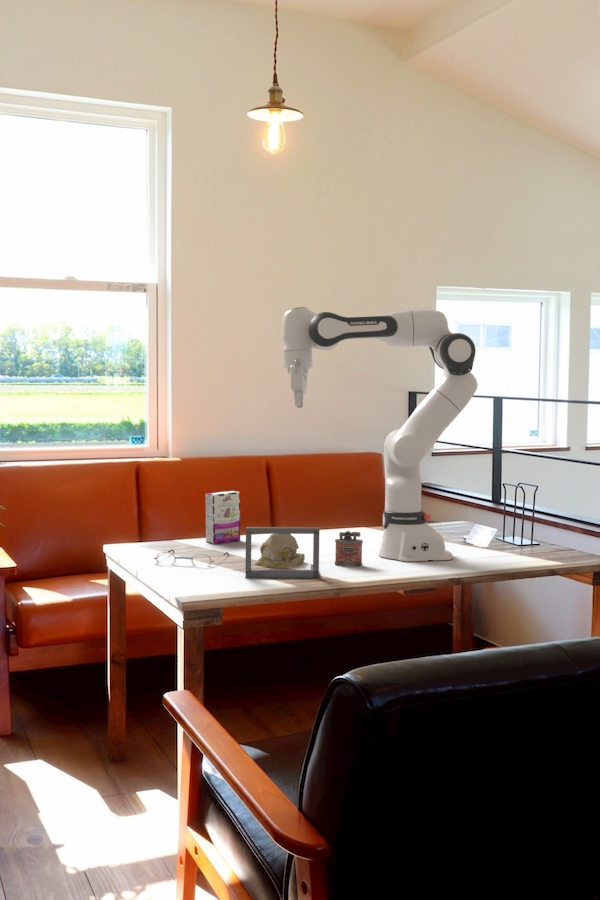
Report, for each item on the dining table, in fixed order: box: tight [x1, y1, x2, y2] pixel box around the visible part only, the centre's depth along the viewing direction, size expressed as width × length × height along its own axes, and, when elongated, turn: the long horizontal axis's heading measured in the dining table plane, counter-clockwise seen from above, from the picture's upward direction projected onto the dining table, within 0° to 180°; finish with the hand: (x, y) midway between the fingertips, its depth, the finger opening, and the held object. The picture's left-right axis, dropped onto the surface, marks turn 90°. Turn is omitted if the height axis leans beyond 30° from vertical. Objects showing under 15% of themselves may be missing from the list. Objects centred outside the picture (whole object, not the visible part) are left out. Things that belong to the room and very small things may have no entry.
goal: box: [244, 526, 320, 579], centre depth 258 cm, size 20×11×14 cm, turn 93°
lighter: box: [334, 530, 364, 567], centre depth 271 cm, size 8×3×10 cm, turn 82°
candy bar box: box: [204, 490, 241, 545], centre depth 307 cm, size 11×5×16 cm, turn 131°
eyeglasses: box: [153, 549, 230, 567], centre depth 277 cm, size 18×19×4 cm
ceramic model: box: [254, 534, 306, 569], centre depth 272 cm, size 14×11×10 cm
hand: (299, 406), depth 281 cm, fingers open, 8 cm apart
